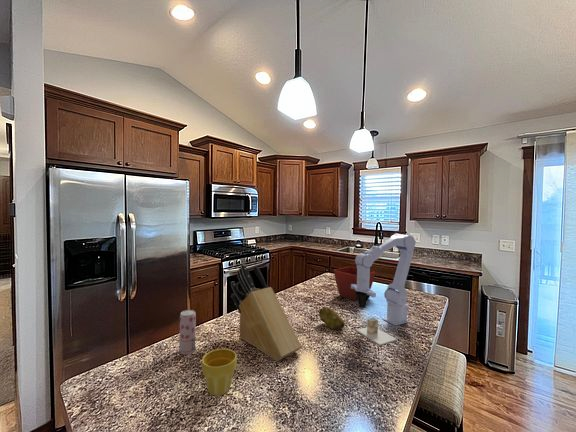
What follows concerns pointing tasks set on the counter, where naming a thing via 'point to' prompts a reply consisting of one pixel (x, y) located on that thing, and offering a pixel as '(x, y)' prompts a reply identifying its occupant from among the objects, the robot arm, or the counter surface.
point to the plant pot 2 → (349, 281)
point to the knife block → (263, 317)
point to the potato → (331, 318)
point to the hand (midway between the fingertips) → (362, 307)
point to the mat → (377, 336)
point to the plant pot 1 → (219, 370)
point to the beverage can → (187, 331)
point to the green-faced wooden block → (372, 325)
